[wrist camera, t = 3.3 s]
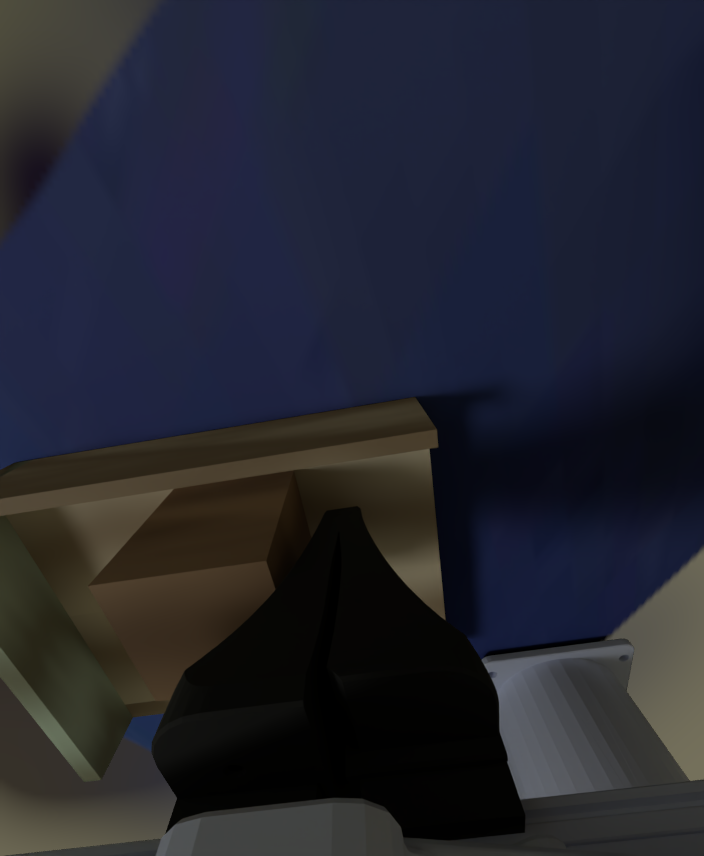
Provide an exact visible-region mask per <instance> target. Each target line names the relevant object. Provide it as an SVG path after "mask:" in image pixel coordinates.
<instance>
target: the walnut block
mask: <svg viewBox="0 0 704 856" xmlns="http://www.w3.org/2000/svg"><path fill="white" fill-rule="evenodd" d="M310 540H311V535H310V531H309V527H308V523H307V519H306V516H305V512H304V508H303V504H302V500H301V496H300V493H299V489H298V485H297V481H296V477H295V473H294V470H293V471H287V472H280V473H274V474H267V475H261V476H254V477H248V478H241V479H235V480H228V481H222V482H216V483H209V484H203V485H196V486H190V487H183V488H177V489H173V490H172V492H171V493H170V494H169V495H168V496H167V497H166V498H165V499H164V501H163V502H162V503H161V504H160V505H159V506H158V507H157V509H156V510H155V511H154V512H153V513H152V514H151V515H150V516H149V518H148V519H147V520H146V521H145V522H144V523H143V524H142V525H141V527H140V528H139V529H138V530H137V531H136V532H135V533H134V534H133V536H132V537H131V538H130V539H129V540H128V541H127V542H126V544H125V545H124V546H123V547H122V548H121V549H120V550H119V551H118V553H117V554H116V555H115V556H114V557H113V558H112V559H111V560H110V562H109V563H108V564H107V565H106V566H105V567H104V568H103V569H102V571H101V572H100V573H99V574H98V575H97V576H96V577H95V579H94V580H93V581H92V582H91V583H90V584H89V585H88V587H89V589H90V591H91V592H92V594H93V596H94V597H95V599H96V601H97V602H98V604H99V606H100V607H101V609H102V611H103V613H104V614H105V616H106V618H107V619H108V621H109V623H110V624H111V626H112V628H113V630H114V631H115V633H116V635H117V636H118V638H119V640H120V641H121V643H122V645H123V647H124V648H125V650H126V652H127V653H128V655H129V657H130V658H131V660H132V662H133V664H134V665H135V667H136V669H137V670H138V672H139V674H140V675H141V677H142V679H143V681H144V682H145V684H146V686H147V687H148V689H149V691H150V692H151V694H152V696H153V698H154V699H155V701H164V700H170V699H171V697H172V695H173V692H174V690H175V688H176V686H177V684H178V682H179V680H180V679H181V677H182V675H183V673H184V671H185V670H186V669H187V668H188V667H190V666H191V665H193V664H194V663H195V662H197V661H198V660H199V659H200V658H202V657H203V656H204V655H206V654H207V653H208V652H210V651H211V650H212V649H213V648H215V647H216V646H217V645H219V644H220V643H221V642H222V641H223V640H225V639H226V638H227V637H228V636H229V635H231V634H232V633H233V632H234V631H235V630H236V629H237V628H239V627H240V626H241V625H242V624H243V623H244V622H245V621H246V620H247V619H248V618H249V617H250V616H251V615H252V614H253V613H254V612H255V611H256V610H257V609H258V608H259V607H260V606H261V605H262V604H263V603H264V602H265V601H266V600H267V599H268V598H269V597H270V596H271V594H272V593H273V592H274V591H275V590H276V589H277V587H278V586H279V585H280V584H281V582H282V581H283V580H284V579H285V577H286V576H287V575H288V573H289V572H290V571H291V569H292V568H293V566H294V565H295V563H296V562H297V560H298V559H299V557H300V556H301V554H302V553H303V551H304V550H305V548H306V546H307V545H308V543H309V541H310Z"/></svg>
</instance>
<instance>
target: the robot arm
mask: <svg viewBox="0 0 704 856" xmlns="http://www.w3.org/2000/svg"><path fill="white" fill-rule="evenodd" d="M633 653H634V647H633V645H632V644H631V643H630V642H629V641H628V640H626V639H616V640H607V641H599V642H592V643H584V644H576V645H568V646H561V647H553V648H545V649H537V650H530V651H522V652H514V653H506V654H499V655H491V656H486V657H484V658H483V659H482V660H481V659H480V657H479V655H478V654H477V652H476V651H475V649H474V648H473V646H472V645H471V643H470V641H469V640H468V639H467V637H466V636H465V635H464V634H463V633H462V632H460V631H459V630H457V629H456V628H455V627H453V626H452V625H451V624H449V623H448V622H447V621H446V620H444V619H443V618H442V617H440V616H439V615H438V614H437V613H436V612H435V611H433V610H432V609H431V608H430V607H429V606H428V605H426V604H425V603H424V602H423V601H422V600H421V599H420V598H419V597H418V596H417V595H416V594H415V593H414V592H413V591H412V590H411V589H410V588H409V587H408V586H407V585H406V584H405V583H404V582H403V580H402V579H401V578H400V577H399V576H398V575H397V573H396V572H395V571H394V570H393V569H392V567H391V566H390V565H389V563H388V562H387V561H386V559H385V558H384V556H383V555H382V553H381V552H380V550H379V549H378V547H377V546H376V544H375V542H374V541H373V539H372V537H371V535H370V533H369V532H368V530H367V527H366V525H365V523H364V520H363V518H362V512H361V508H359V507H358V506H354V507H347V508H341V509H334V510H327V511H326V512H325V513H324V515H323V517H322V519H321V521H320V523H319V525H318V527H317V529H316V531H315V533H314V534H313V536H312V538H311V540H310V541H309V543H308V545H307V546H306V548H305V550H304V551H303V553H302V554H301V556H300V557H299V559H298V560H297V562H296V563H295V565H294V566H293V568H292V569H291V571H290V572H289V573H288V575H287V576H286V577H285V579H284V580H283V581H282V582H281V584H280V585H279V586H278V587H277V589H276V590H275V591H274V592H273V593H272V594H271V596H270V597H269V598H268V599H267V600H266V601H265V602H264V603H263V604H262V605H261V606H260V607H259V608H258V609H257V610H256V611H255V612H254V613H253V614H252V615H251V616H250V617H249V618H248V619H247V620H246V621H245V622H244V623H243V624H242V625H241V626H240V627H239V628H237V629H236V630H235V631H234V632H233V633H232V634H231V635H229V636H228V637H227V638H226V639H225V640H223V641H222V642H221V643H220V644H219V645H217V646H216V647H215V648H213V649H212V650H211V651H210V652H208V653H207V654H206V655H204V656H203V657H202V658H200V659H199V660H198V661H197V662H195V663H194V664H193V665H191V666H190V667H188V668H187V669H186V670H185V671H184V673H183V675H182V677H181V679H180V680H179V682H178V684H177V686H176V688H175V690H174V692H173V695H172V697H171V699H170V701H169V704H168V706H167V708H166V711H165V713H164V715H163V718H162V720H161V722H160V725H159V727H158V729H157V732H156V734H155V736H154V739H153V741H152V755H153V758H154V760H155V762H156V765H157V767H158V769H159V770H160V772H161V773H162V775H163V777H164V778H165V780H166V781H167V783H168V784H169V786H170V787H171V789H172V791H173V792H174V794H175V795H176V797H177V801H176V804H175V806H174V809H173V812H172V816H171V818H170V821H169V825H168V828H167V830H166V833H165V835H164V836H163V837H162V838H161V839H154V840H145V841H136V842H126V843H117V844H108V845H100V846H90V847H81V848H71V849H62V850H53V851H44V852H35V853H26V854H16V855H7V856H704V780H696V781H689V779H688V778H687V776H686V775H685V773H684V772H683V771H682V769H681V768H680V766H679V765H678V764H677V762H676V761H675V759H674V758H673V756H672V755H671V754H670V752H669V751H668V750H667V748H666V747H665V745H664V744H663V743H662V741H661V740H660V738H659V737H658V735H657V734H656V732H655V731H654V730H653V728H652V727H651V725H650V724H649V723H648V721H647V720H646V718H645V717H644V716H643V714H642V713H641V711H640V710H639V708H638V707H637V706H636V704H635V703H634V701H633V700H632V698H631V697H630V696H629V694H628V693H627V686H628V680H629V675H630V670H631V664H632V659H633Z"/></svg>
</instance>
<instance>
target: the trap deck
mask: <svg viewBox="0 0 704 856" xmlns="http://www.w3.org/2000/svg"><path fill="white" fill-rule="evenodd" d="M437 447H438V437H437V429H436V427H435V426H434V424H433V423H432V421H431V420H430V418H429V417H428V415H427V414H426V412H425V411H424V410H423V408H422V407H421V405H420V404H419V402H418V401H417V399H416V398H415V397H413V398H407V399H401V400H395V401H389V402H383V403H376V404H370V405H364V406H358V407H352V408H346V409H340V410H334V411H328V412H322V413H315V414H309V415H303V416H297V417H291V418H285V419H279V420H273V421H267V422H261V423H254V424H248V425H242V426H236V427H230V428H224V429H218V430H212V431H206V432H199V433H193V434H187V435H181V436H175V437H169V438H163V439H157V440H151V441H145V442H138V443H132V444H126V445H120V446H114V447H108V448H102V449H96V450H90V451H83V452H77V453H71V454H65V455H59V456H53V457H47V458H41V459H35V460H29V461H22V462H16V463H13V464H11V465H9V466H7V467H5V468H3V469H1V470H0V677H1V678H2V679H3V681H4V682H5V683H6V685H7V686H8V687H9V688H10V690H11V691H12V692H13V693H14V695H15V696H16V697H17V698H18V699H19V701H20V702H21V703H22V704H23V706H24V707H25V708H26V710H27V711H28V712H29V713H30V714H31V716H32V717H33V718H34V720H35V721H36V722H37V723H38V725H39V726H40V727H41V728H42V730H43V731H44V732H45V733H46V735H47V736H48V737H49V738H50V740H51V741H52V742H53V743H54V745H55V746H56V747H57V748H58V749H59V751H60V752H61V753H62V755H63V756H64V757H65V758H66V760H67V761H68V762H69V763H70V765H71V766H72V767H73V768H74V770H75V771H76V772H77V774H78V775H79V776H80V777H81V779H82V780H83V781H84V782H86V781H94V780H101V779H102V777H103V775H104V774H105V772H106V770H107V768H108V766H109V764H110V762H111V760H112V758H113V756H114V754H115V752H116V750H117V748H118V746H119V744H120V742H121V740H122V738H123V736H124V734H125V732H126V730H127V728H128V726H129V724H130V722H131V720H132V718H133V717H139V716H147V715H154V714H162V713H165V711H166V708H167V706H168V704H169V701H170V700H164V701H155V699H154V698H153V696H152V694H151V692H150V691H149V689H148V687H147V686H146V684H145V682H144V681H143V679H142V677H141V675H140V674H139V672H138V670H137V669H136V667H135V665H134V664H133V662H132V660H131V658H130V657H129V655H128V653H127V652H126V650H125V648H124V647H123V645H122V643H121V641H120V640H119V638H118V636H117V635H116V633H115V631H114V630H113V628H112V626H111V624H110V623H109V621H108V619H107V618H106V616H105V614H104V613H103V611H102V609H101V607H100V606H99V604H98V602H97V601H96V599H95V597H94V596H93V594H92V592H91V591H90V589H89V587H88V585H89V584H90V583H91V582H92V581H93V580H94V579H95V577H96V576H97V575H98V574H99V573H100V572H101V571H102V569H103V568H104V567H105V566H106V565H107V564H108V563H109V562H110V560H111V559H112V558H113V557H114V556H115V555H116V554H117V553H118V551H119V550H120V549H121V548H122V547H123V546H124V545H125V544H126V542H127V541H128V540H129V539H130V538H131V537H132V536H133V534H134V533H135V532H136V531H137V530H138V529H139V528H140V527H141V525H142V524H143V523H144V522H145V521H146V520H147V519H148V518H149V516H150V515H151V514H152V513H153V512H154V511H155V510H156V509H157V507H158V506H159V505H160V504H161V503H162V502H163V501H164V499H165V498H166V497H167V496H168V495H169V494H170V493H171V492H172V490H173V489H177V488H183V487H190V486H196V485H203V484H209V483H216V482H222V481H228V480H235V479H241V478H248V477H254V476H261V475H267V474H274V473H280V472H287V471H293V470H294V473H295V477H296V481H297V485H298V489H299V493H300V496H301V500H302V504H303V508H304V512H305V516H306V519H307V523H308V527H309V531H310V535H311V538H312V536H313V534H314V533H315V531H316V529H317V527H318V525H319V523H320V521H321V519H322V517H323V515H324V513H325V512H326V511H327V510H334V509H341V508H347V507H354V506H358V507H359V508H361V512H362V518H363V520H364V523H365V525H366V527H367V530H368V532H369V533H370V535H371V537H372V539H373V541H374V542H375V544H376V546H377V547H378V549H379V550H380V552H381V553H382V555H383V556H384V558H385V559H386V561H387V562H388V563H389V565H390V566H391V567H392V569H393V570H394V571H395V572H396V573H397V575H398V576H399V577H400V578H401V579H402V580H403V582H404V583H405V584H406V585H407V586H408V587H409V588H410V589H411V590H412V591H413V592H414V593H415V594H416V595H417V596H418V597H419V598H420V599H421V600H422V601H423V602H424V603H425V604H426V605H428V606H429V607H430V608H431V609H432V610H433V611H435V612H436V613H437V614H438V615H439V616H440V617H442V618H443V619H444V620H445V610H444V599H443V588H442V578H441V567H440V556H439V546H438V535H437V524H436V514H435V503H434V492H433V482H432V471H431V460H430V450H429V449H431V448H437Z"/></svg>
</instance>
